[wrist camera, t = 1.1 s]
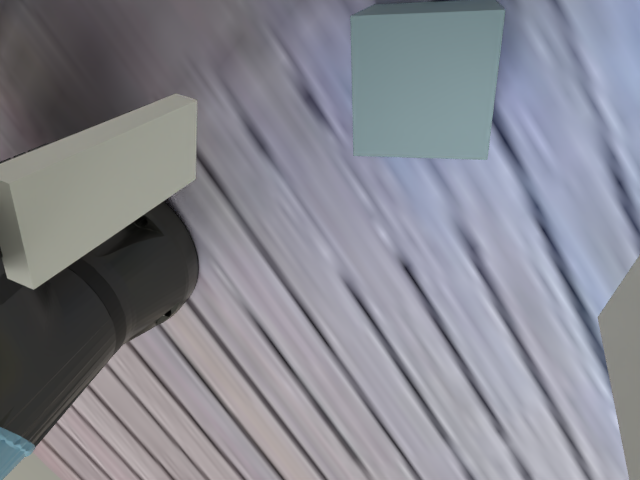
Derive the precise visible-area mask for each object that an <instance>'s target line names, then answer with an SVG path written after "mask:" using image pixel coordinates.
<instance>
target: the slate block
mask: <svg viewBox="0 0 640 480" xmlns="http://www.w3.org/2000/svg"><path fill="white" fill-rule="evenodd" d="M504 18H505V9H504V8H503V7H502V6H501V5H500V4H499V3H498V2H497V1H496V0H457V1H435V2H414V3H393V4H374V5H372V6H370V7H368V8H366V9H364V10H362V11H360V12H358V13H356V14H354V15H352V16H350V20H351V64H352V109H353V154H354V156H373V157H407V158H441V159H474V160H487V158H488V150H489V141H490V133H491V125H492V117H493V109H494V100H495V92H496V84H497V76H498V68H499V59H500V51H501V43H502V35H503V26H504Z"/></svg>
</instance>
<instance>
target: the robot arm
mask: <svg viewBox="0 0 640 480" xmlns="http://www.w3.org/2000/svg"><path fill="white" fill-rule="evenodd" d="M196 140H197V100H195V99H192V98H189V97H185V96H182V95H179V94H174V95H171V96H169V97H166V98H164V99H161V100H158V101H156V102H153V103H151V104H148V105H146V106H143V107H141V108H138V109H136V110H133V111H131V112H128V113H126V114H123V115H121V116H118V117H116V118H113V119H111V120H108V121H106V122H103V123H101V124H98V125H96V126H93V127H91V128H88V129H86V130H83V131H81V132H78V133H76V134H73V135H71V136H68V137H66V138H63V139H61V140H58V141H56V142H53V143H48V144H44V145H42V146H39V147H37V148H34V149H32V150H29V151H28V153H25V152H24V153H22V154H19V155H17V156H14V158H13V159H11V158H9V159H6V160H4V161H1V162H0V480H3V479H4V478H5V476H7V475H8V474H9V473H10V471H11V470H12V469H13V468H14V467H15V466H16V465H17V464H18V463H19V462H20V461H21V460H22V459H23V458H24V457H26V456H29V455H30V454H31V453H32V452H33V450H34V449H35V447H36V446H37V445H38V444H39V442H40V441H41V440H42V439H43V438H44V437H45V435H46V434H47V433H48V432H49V431H50V429H51V428H52V427H53V426H54V425H55V424H56V422H57V421H58V420H59V419H60V418H61V417H62V415H63V414H64V413H65V412H66V411H67V409H68V408H69V407H70V406H71V405H72V404H73V402H74V401H75V400H76V399H77V398H78V396H79V395H80V394H81V393H82V392H83V391H84V389H85V388H86V387H87V386H88V385H89V383H90V382H91V381H92V380H93V379H94V378H95V376H96V375H97V374H98V373H99V372H100V371H101V369H102V368H103V367H104V366H105V365H106V363H107V362H108V361H109V360H110V359H111V357H112V356H113V355H114V354H115V353H116V352H117V351H118V350H119V348H120V347H121V346H122V345H123V344H125V343H127V342H128V341H130V340H132V339H134V338H136V337H137V336H139V335H141V334H143V333H145V332H146V331H148V330H150V329H152V328H153V327H155V326H156V325H159V324H161V323H163V322H164V321H166V320H168V319H169V318H171V317H172V316H173V315H174V314H175V313H176V312H177V311H178V310H179V309H180V308H181V307H182V305H183V304H184V303H185V302H186V300H187V299H188V298H189V297H190V295H191V294H192V292H193V290H194V288H195V285H196V282H197V277H198V260H197V255H196V251H195V247H194V244H193V242H192V239H191V237H190V235H189V233H188V231H187V230H186V228H185V226H184V225H183V223H182V222H181V220H180V219H179V218H178V216H177V215H176V214H175V213H174V211H173V210H172V209H171V208H170V207H169V206H168V205H167V204H166V203H165V202H164V201H165V200H166V199H168V198H169V197H170V196H172V195H173V194H175V193H176V192H178V191H179V190H181V189H182V188H184V187H185V186H187V185H188V184H190V183H191V182H192V181H194V180H195V179H196ZM598 322H599V327H600V332H601V337H602V342H603V347H604V352H605V357H606V363H607V368H608V373H609V378H610V383H611V388H612V393H613V398H614V403H615V409H616V414H617V419H618V424H619V429H620V434H621V439H622V444H623V449H624V454H625V460H626V465H627V470H628V475H629V480H640V255H639V257H638V258H637V260H636V261H635V263H634V264H633V266H632V267H631V269H630V270H629V272H628V273H627V275H626V276H625V278H624V279H623V281H622V282H621V284H620V285H619V287H618V288H617V289H616V291H615V292H614V294H613V295H612V297H611V298H610V300H609V301H608V303H607V304H606V306H605V307H604V309H603V310H602V312H601V313H600V315H599V316H598Z"/></svg>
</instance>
